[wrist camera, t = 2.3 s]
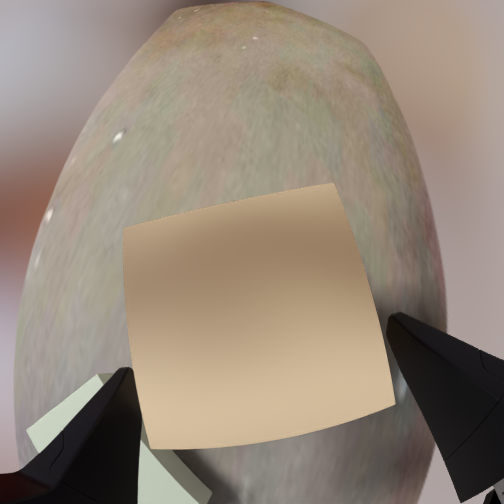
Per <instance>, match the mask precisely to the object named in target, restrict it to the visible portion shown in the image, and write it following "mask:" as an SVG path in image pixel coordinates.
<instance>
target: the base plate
mask: <svg viewBox="0 0 504 504" xmlns="http://www.w3.org/2000/svg"><path fill="white" fill-rule="evenodd" d="M113 374H114V373H108V374H97V375H95V376H94V377H93V378H92V379H90V380H89V381H88V382H87V383H85V384H84V385H83V386H82V387H80V388H79V389H78V390H76V391H75V392H74V393H73V394H71V395H70V396H69V397H68V398H66V399H65V400H64V401H63V402H61V403H60V404H59V405H57V406H56V407H55V408H54V409H52V410H51V411H50V412H49V413H47V414H46V415H45V416H44V417H42V418H41V419H40V420H38V421H37V422H36V423H35V424H33V425H32V426H31V427H30V428H28V429H27V430H26V431H27V433H28V435H29V437H30V438H31V440H32V442H33V444H34V446H35V447H36V449H37V451H38V452H39V453H40V452H41V451H42V450H43V449H44V448H45V447H46V446H47V445H48V444H49V443H50V442H51V441H52V440H53V439H54V438H55V437H56V436H57V435H58V434H59V433H60V432H61V431H62V430H63V428H64V427H65V426H66V425H67V424H68V423H69V422H70V421H71V420H72V419H73V417H74V416H75V415H76V414H77V413H78V412H79V411H80V410H81V409H82V408H83V407H84V406H85V404H86V403H87V402H88V401H89V400H90V399H91V398H92V397H93V396H94V395H95V394H96V393H97V391H98V390H99V389H100V388H101V387H102V386H103V385H104V384H105V383H106V382H107V381H108V380H109V379H110V378H111V376H112V375H113ZM212 493H213V492H212V491H211V490H210V489H209V488H207V487H206V486H205V485H204V484H203V483H202V482H201V481H200V480H199V479H198V478H197V477H196V475H195V474H194V473H193V472H192V471H191V470H190V469H189V468H188V467H187V466H186V465H185V464H184V463H183V462H182V460H181V459H180V458H179V457H178V456H177V455H176V454H175V453H174V451H173V450H172V449H151V448H150V445H149V441H148V437H147V433H146V429H145V425H144V421H143V417H142V431H141V442H140V456H139V476H138V504H207V503H208V501H209V499H210V497H211V495H212Z"/></svg>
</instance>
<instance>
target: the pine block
mask: <svg viewBox="0 0 504 504" xmlns="http://www.w3.org/2000/svg"><path fill="white" fill-rule="evenodd" d="M123 267H124V289H125V304H126V316H127V326H128V335H129V343H130V351H131V358H132V364H133V371H134V377H135V382H136V388H137V393H138V398H139V403H140V408H141V412H142V417H143V421H144V425H145V429H146V433H147V437H148V441H149V445H150V448H151V449H204V448H218V447H229V446H238V445H246V444H253V443H260V442H266V441H272V440H277V439H283V438H288V437H292V436H297V435H301V434H306V433H310V432H314V431H318V430H322V429H325V428H329V427H332V426H336V425H339V424H342V423H346V422H349V421H352V420H355V419H358V418H361V417H364V416H367V415H369V414H372V413H375V412H377V411H380V410H383V409H385V408H388V407H390V406H393V405H395V397H394V391H393V385H392V380H391V374H390V369H389V364H388V359H387V354H386V349H385V345H384V340H383V336H382V332H381V328H380V323H379V319H378V315H377V312H376V308H375V304H374V300H373V297H372V293H371V290H370V286H369V283H368V279H367V276H366V273H365V269H364V266H363V263H362V260H361V257H360V253H359V250H358V247H357V244H356V241H355V239H354V236H353V233H352V230H351V227H350V224H349V221H348V219H347V216H346V213H345V211H344V208H343V205H342V203H341V200H340V197H339V195H338V192H337V190H336V187H335V185H334V183H329V184H323V185H317V186H311V187H305V188H299V189H294V190H288V191H283V192H277V193H272V194H267V195H262V196H257V197H252V198H247V199H242V200H237V201H233V202H228V203H223V204H219V205H214V206H210V207H205V208H201V209H197V210H192V211H188V212H184V213H180V214H176V215H172V216H168V217H164V218H160V219H156V220H152V221H148V222H144V223H141V224H137V225H133V226H130V227H126V228H123Z"/></svg>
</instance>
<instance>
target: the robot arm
mask: <svg viewBox="0 0 504 504" xmlns="http://www.w3.org/2000/svg"><path fill="white" fill-rule="evenodd" d="M386 335H387V339H388V341H389V344H390V346H391V349H392V351H393V353H394V356H395V358H396V361H397V363H398V366H399V368H400V371H401V373H402V375H403V377H404V379H405V381H406V383H407V385H408V386H409V388H410V390H411V392H412V394H413V396H414V398H415V400H416V402H417V404H418V406H419V408H420V410H421V412H422V414H423V416H424V418H425V420H426V422H427V424H428V426H429V429H430V431H431V433H432V435H433V437H434V439H435V442H436V444H437V446H438V448H439V450H440V453H441V455H442V457H443V460H444V461H445V465H446V467H447V470H448V472H449V475H450V477H451V480H452V482H453V485H454V487H455V490H456V493H457V495H458V498H459V500H460V503H462V502H464V501H466V500H468V499H470V498H472V497H474V496H476V495H478V494H479V493H481V492H483V491H484V490H486V489H488V488H489V487H491V486H494V489H493V490H492V491H490V492H489V493H488V494H487V495H486V497H485V500H484V503H483V504H504V360H502V359H499V358H497V357H495V356H493V355H490V354H488V353H486V352H484V351H482V350H479V349H478V348H475V347H474V346H471V345H469V344H467V343H465V342H463V341H461V340H459V339H457V338H455V337H453V336H451V335H449V334H446V333H444V332H442V331H440V330H438V329H436V328H434V327H432V326H430V325H428V324H425V323H423V322H421V321H419V320H417V319H415V318H413V317H411V316H408V315H406V314H404V313H402V312H397V313H394V314H391V315H390V316H389V318H388V324H387V331H386ZM141 431H142V412H141V408H140V403H139V398H138V393H137V388H136V382H135V377H134V371H133V370H132V368H130V367H121V368H119V369H118V370H117V371H116V372H115V373H114V374H113V375H112V376H111V378H110V379H109V380H108V381H107V382H106V383H105V384H104V385H103V386H102V387H101V388H100V389H99V390H98V391H97V393H96V394H95V395H94V396H93V397H92V398H91V399H90V400H89V401H88V402H87V403H86V404H85V406H84V407H83V408H82V409H81V410H80V411H79V412H78V413H77V414H76V415H75V416H74V417H73V419H72V420H71V421H70V422H69V423H68V424H67V425H66V426H65V427H64V428H63V430H62V431H61V432H60V433H59V434H58V435H57V436H56V437H55V438H54V439H53V440H52V441H51V442H50V443H49V444H48V445H47V446H46V447H45V448H44V449H43V450H42V451H41V452H40V453H39V454H38V455H37V456H36V457H35V458H34V459H32V460H31V461H30V462H29V463H28V464H27V465H26V466H25V467H24V468H22V469H21V470H19V471H17V472H14V473H5V474H0V504H138V476H139V456H140V442H141Z"/></svg>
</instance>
